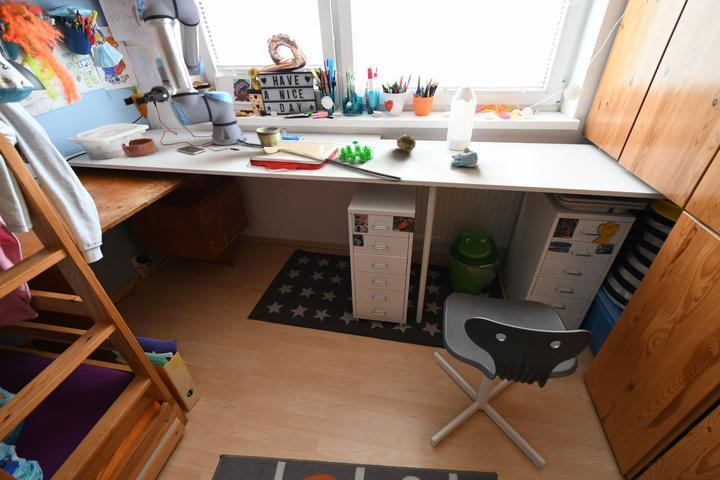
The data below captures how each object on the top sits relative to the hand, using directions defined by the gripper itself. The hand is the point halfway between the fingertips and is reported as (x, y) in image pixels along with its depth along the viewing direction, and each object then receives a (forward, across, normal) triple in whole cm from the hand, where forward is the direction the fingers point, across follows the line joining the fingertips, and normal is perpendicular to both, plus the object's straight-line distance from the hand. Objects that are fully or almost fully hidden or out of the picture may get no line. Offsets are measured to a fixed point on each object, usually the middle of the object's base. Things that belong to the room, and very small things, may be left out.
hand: (131, 102), depth 146 cm
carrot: (-5, 0, -9) cm, 10 cm away
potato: (+6, -124, -22) cm, 126 cm away
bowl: (+6, 0, -21) cm, 22 cm away
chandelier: (+15, -103, -22) cm, 106 cm away
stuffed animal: (+22, -146, -22) cm, 149 cm away
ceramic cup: (+4, -63, -22) cm, 67 cm away
